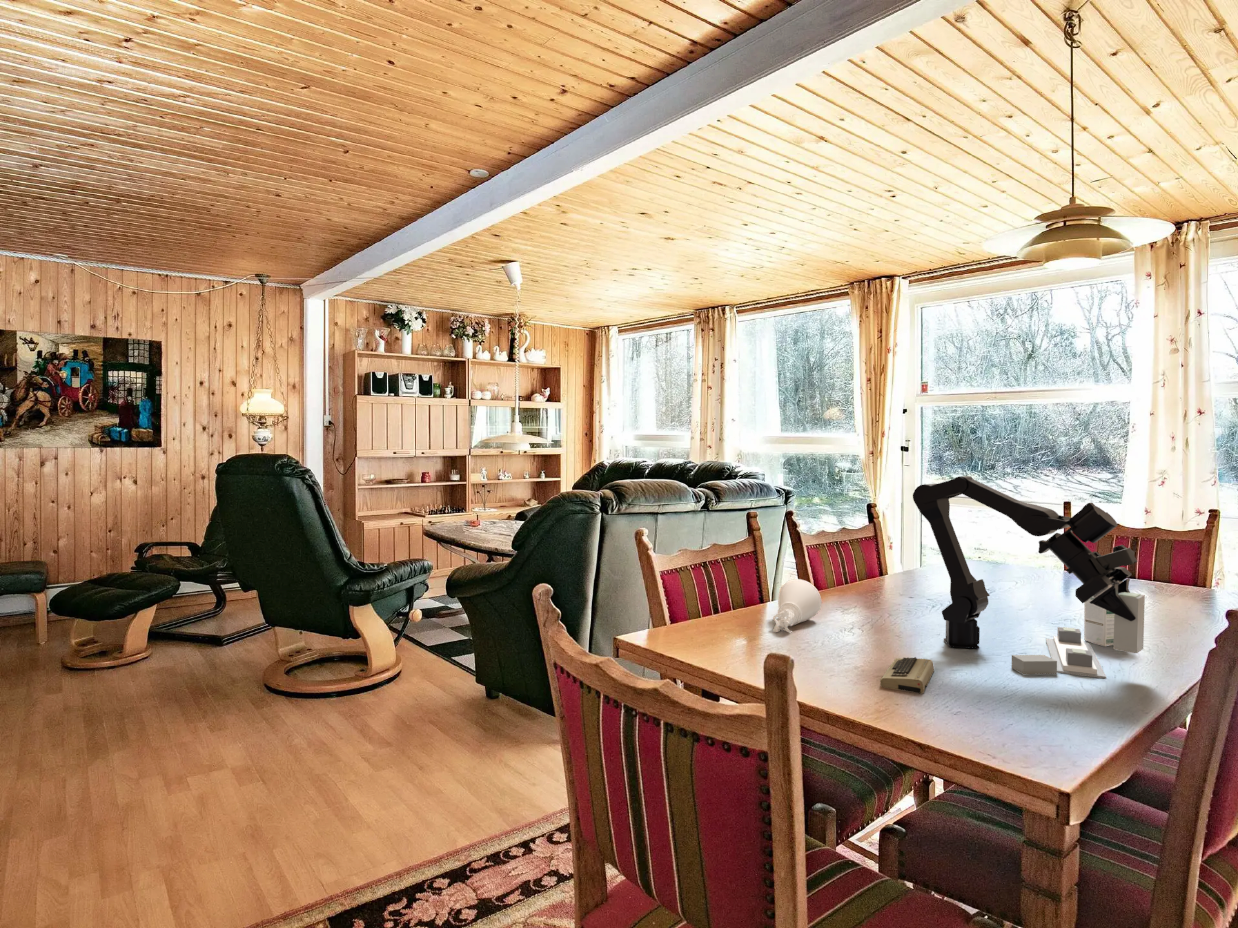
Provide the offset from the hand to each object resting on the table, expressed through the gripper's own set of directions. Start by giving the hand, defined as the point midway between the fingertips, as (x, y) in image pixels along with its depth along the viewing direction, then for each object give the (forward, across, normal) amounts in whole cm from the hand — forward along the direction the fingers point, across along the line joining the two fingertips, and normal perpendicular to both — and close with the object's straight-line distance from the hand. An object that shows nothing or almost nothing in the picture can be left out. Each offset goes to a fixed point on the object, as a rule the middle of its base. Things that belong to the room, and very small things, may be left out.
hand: (1137, 617), depth 149 cm
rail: (0, +8, +18) cm, 20 cm away
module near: (+1, -1, +15) cm, 15 cm away
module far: (-4, +17, +20) cm, 27 cm away
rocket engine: (-43, -14, +62) cm, 76 cm away
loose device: (-2, -9, +21) cm, 22 cm away
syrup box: (0, +27, +18) cm, 33 cm away
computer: (-13, -34, +32) cm, 48 cm away
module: (+4, 0, +6) cm, 7 cm away
